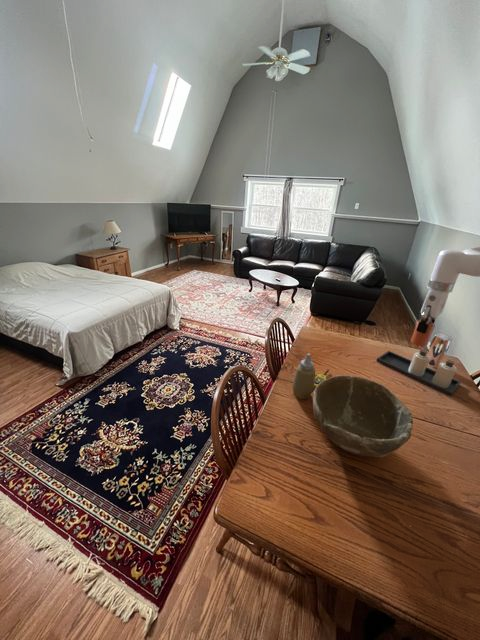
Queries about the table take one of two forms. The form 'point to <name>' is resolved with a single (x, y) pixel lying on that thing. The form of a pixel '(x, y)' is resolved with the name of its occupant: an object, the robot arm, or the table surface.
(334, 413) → the bowl
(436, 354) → the beer glass
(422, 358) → the cream bottle
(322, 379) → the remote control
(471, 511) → the table surface
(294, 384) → the squeeze bottle
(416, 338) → the terracotta bottle
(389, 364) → the tray
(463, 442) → the table surface
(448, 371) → the cream bottle
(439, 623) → the table surface
